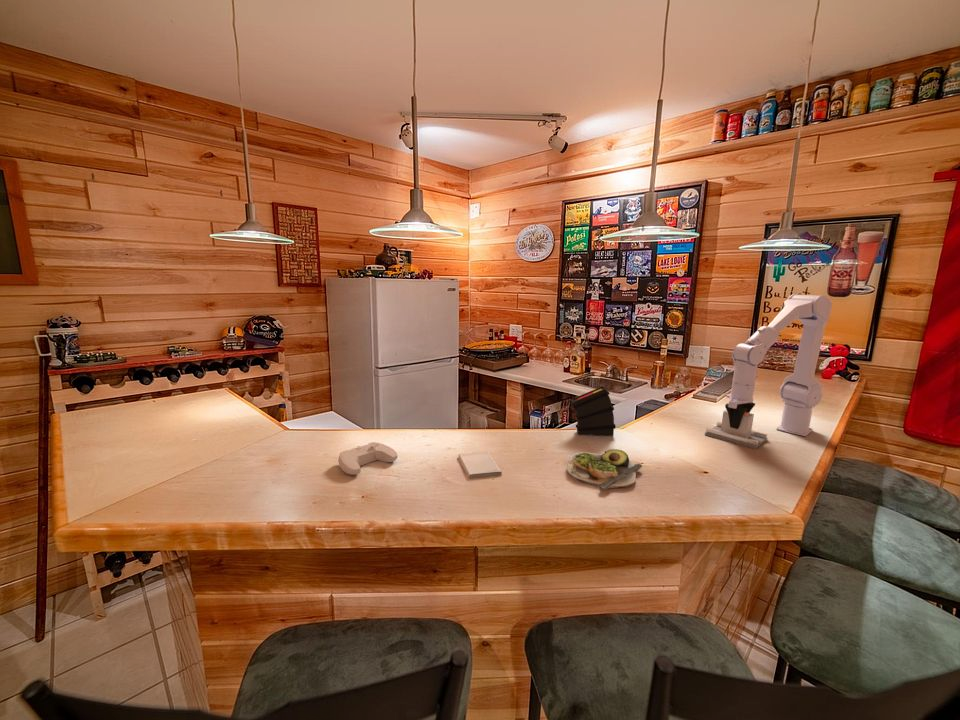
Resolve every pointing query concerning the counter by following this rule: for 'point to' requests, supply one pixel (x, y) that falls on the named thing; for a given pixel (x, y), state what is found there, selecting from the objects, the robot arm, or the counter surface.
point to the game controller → (365, 456)
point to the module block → (744, 426)
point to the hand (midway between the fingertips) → (737, 426)
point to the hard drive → (479, 465)
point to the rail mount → (737, 437)
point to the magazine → (594, 413)
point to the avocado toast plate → (604, 468)
